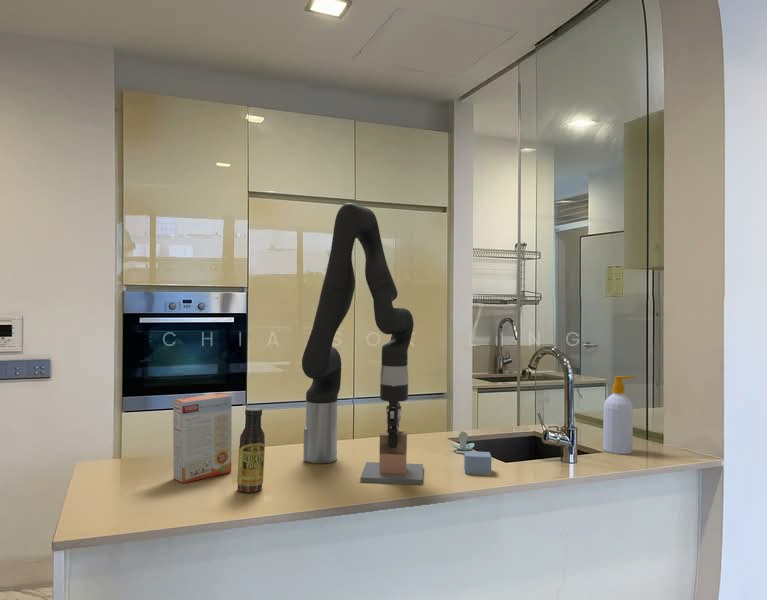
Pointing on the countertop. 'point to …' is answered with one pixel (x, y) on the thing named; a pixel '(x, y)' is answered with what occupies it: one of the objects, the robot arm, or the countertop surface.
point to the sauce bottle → (251, 453)
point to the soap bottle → (618, 420)
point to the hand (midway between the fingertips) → (393, 444)
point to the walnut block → (401, 443)
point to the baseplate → (391, 477)
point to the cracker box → (202, 437)
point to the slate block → (477, 462)
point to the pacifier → (463, 444)
